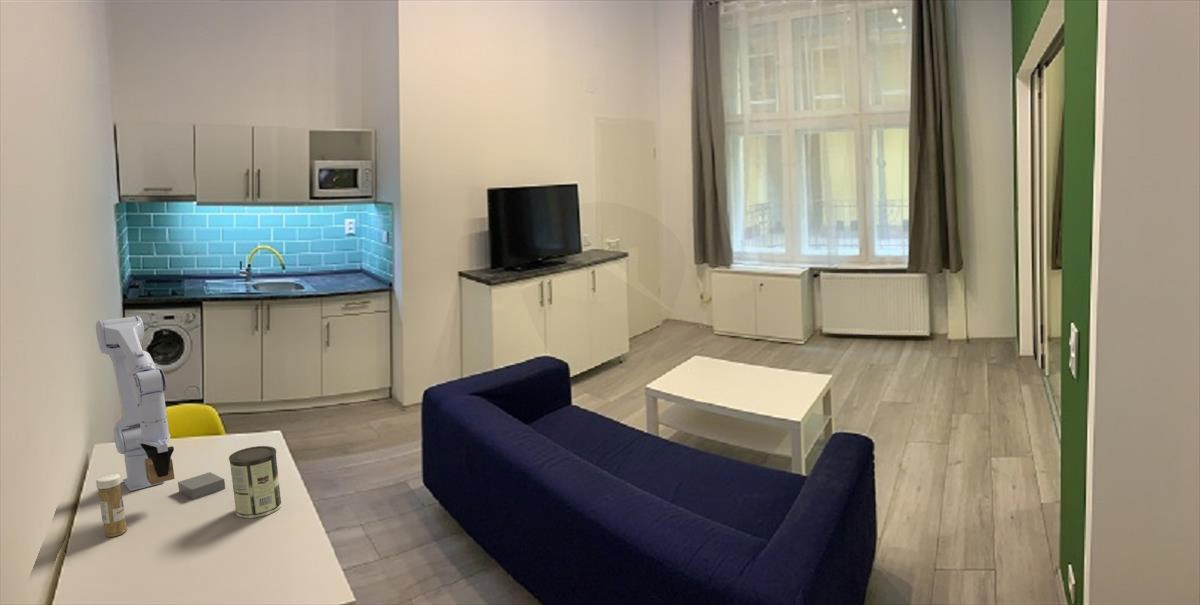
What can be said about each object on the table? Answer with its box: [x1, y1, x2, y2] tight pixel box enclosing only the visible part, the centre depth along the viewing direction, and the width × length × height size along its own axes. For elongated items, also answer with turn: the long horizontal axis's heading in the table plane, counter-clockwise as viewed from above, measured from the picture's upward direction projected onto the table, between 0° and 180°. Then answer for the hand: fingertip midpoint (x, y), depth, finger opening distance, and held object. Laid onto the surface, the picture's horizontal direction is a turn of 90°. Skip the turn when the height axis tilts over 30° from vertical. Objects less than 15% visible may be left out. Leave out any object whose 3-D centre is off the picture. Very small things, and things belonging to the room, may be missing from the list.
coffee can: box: [228, 445, 282, 519], centre depth 182 cm, size 10×10×14 cm
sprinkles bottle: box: [95, 473, 128, 538], centre depth 172 cm, size 5×5×14 cm
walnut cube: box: [144, 457, 176, 486], centre depth 186 cm, size 5×5×5 cm
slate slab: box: [177, 471, 226, 500], centre depth 195 cm, size 8×8×3 cm
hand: (160, 472), depth 186 cm, fingers closed on walnut cube, 5 cm apart
